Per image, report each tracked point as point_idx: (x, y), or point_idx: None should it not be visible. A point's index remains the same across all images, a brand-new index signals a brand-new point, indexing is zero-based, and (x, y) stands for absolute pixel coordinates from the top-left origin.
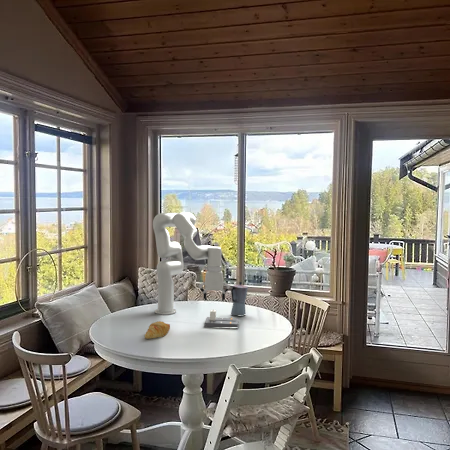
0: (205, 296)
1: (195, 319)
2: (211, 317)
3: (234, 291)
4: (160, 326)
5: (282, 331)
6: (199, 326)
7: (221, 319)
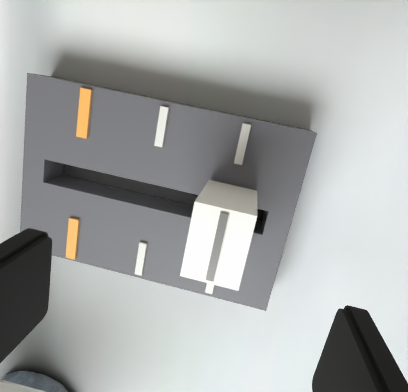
0: (375, 357)
1: None
2: (242, 193)
3: None
4: None
5: None
6: (347, 157)
7: (152, 228)
